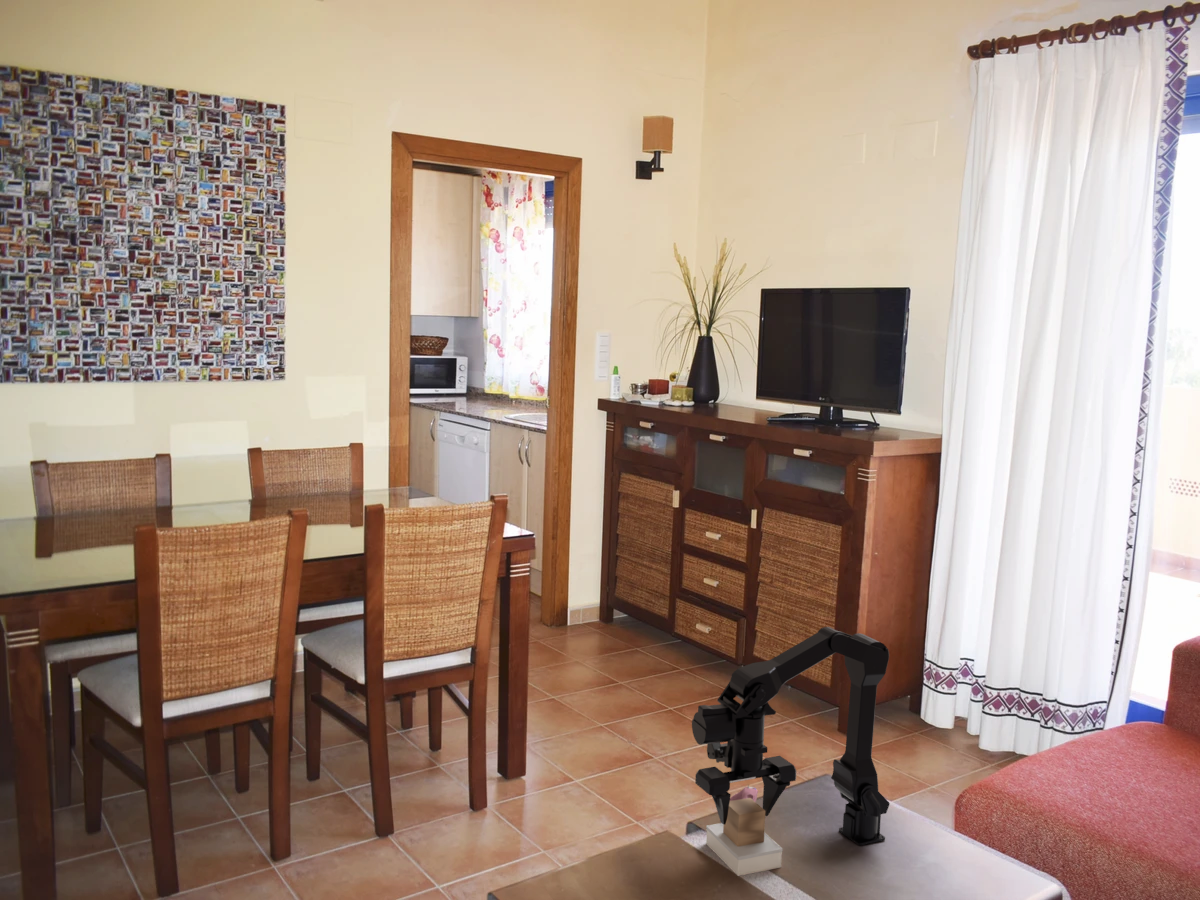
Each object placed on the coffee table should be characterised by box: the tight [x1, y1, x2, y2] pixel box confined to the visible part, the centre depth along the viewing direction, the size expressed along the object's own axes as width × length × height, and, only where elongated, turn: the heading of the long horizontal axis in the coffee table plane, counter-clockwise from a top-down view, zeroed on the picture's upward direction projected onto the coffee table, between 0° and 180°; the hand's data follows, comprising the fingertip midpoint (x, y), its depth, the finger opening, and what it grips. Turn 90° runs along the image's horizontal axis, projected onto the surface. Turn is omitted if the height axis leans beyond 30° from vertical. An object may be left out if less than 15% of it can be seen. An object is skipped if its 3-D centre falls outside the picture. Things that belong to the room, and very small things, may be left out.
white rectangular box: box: [705, 822, 784, 877], centre depth 178 cm, size 9×12×4 cm
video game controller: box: [730, 785, 759, 803], centre depth 193 cm, size 10×5×7 cm, turn 169°
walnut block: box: [723, 798, 766, 847], centre depth 178 cm, size 6×6×6 cm
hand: (744, 819), depth 178 cm, fingers open, 9 cm apart
